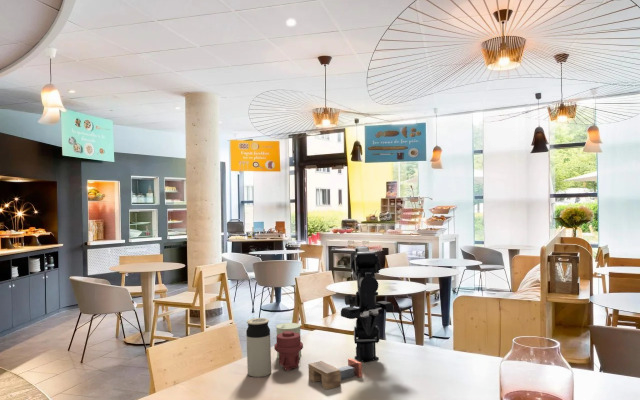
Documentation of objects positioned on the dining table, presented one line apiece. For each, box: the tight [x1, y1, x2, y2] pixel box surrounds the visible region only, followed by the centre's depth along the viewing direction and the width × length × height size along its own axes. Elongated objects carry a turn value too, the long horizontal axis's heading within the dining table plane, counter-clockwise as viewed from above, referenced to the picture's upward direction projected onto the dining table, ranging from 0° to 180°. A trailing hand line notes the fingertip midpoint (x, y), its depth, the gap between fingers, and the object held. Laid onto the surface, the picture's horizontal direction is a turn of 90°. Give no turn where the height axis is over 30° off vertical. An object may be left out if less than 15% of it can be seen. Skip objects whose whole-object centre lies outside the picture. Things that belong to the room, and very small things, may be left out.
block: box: [307, 360, 342, 390], centre depth 158 cm, size 5×11×5 cm, turn 32°
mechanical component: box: [273, 331, 304, 372], centre depth 173 cm, size 12×10×10 cm
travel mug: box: [245, 317, 272, 378], centre depth 168 cm, size 8×8×18 cm
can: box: [275, 322, 302, 360], centre depth 185 cm, size 9×9×12 cm
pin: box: [336, 358, 363, 381], centre depth 162 cm, size 8×6×5 cm
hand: (368, 335), depth 167 cm, fingers closed
